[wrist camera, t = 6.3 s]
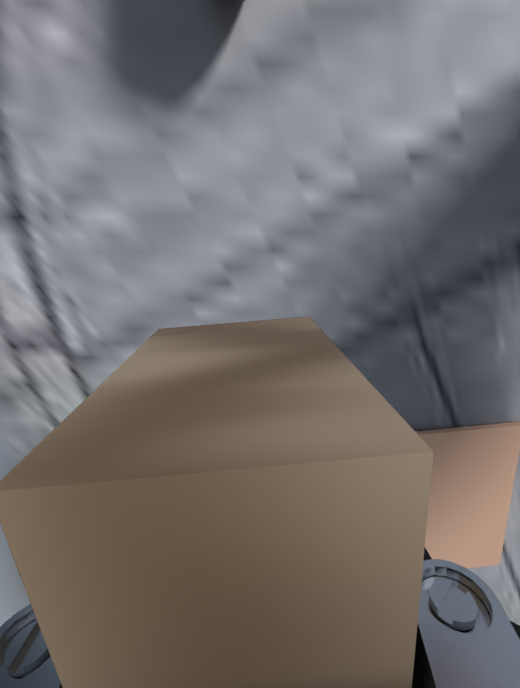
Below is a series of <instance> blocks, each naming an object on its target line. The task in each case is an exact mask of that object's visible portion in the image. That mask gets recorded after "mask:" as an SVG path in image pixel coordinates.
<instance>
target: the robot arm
mask: <svg viewBox="0 0 520 688" xmlns="http://www.w3.org/2000/svg"><path fill="white" fill-rule="evenodd" d="M0 688H63V687H62V685H61V682H60V679H59V677H58V674H57V671H56V669H55V666H54V663H53V661H52V658H51V656H50V653H49V650H48V648H47V645H46V642H45V640H44V637H43V634H42V632H41V629H40V626H39V624H38V621H37V619H36V616H35V613H34V611H33V608H32V605H31V604H30V605H28V606H27V607H25V608H23V609H22V610H20V611H18V612H17V613H16V614H15V615H13V616H12V617H11V618H10V619H9V620H7V621H6V622H5V623H4V624H3V625H2V626H1V627H0ZM412 688H520V626H519V625H517V624H515V623H513V622H511V621H510V620H509V619H508V617H507V615H506V613H505V611H504V609H503V607H502V605H501V603H500V602H499V600H498V599H497V597H496V596H495V594H494V593H493V591H492V590H491V588H490V587H489V586H488V585H487V584H486V583H485V582H484V581H483V580H482V579H480V578H479V577H478V576H477V575H476V574H474V573H473V572H471V571H469V570H468V569H466V568H465V567H463V566H460V565H458V564H456V563H453V562H451V561H446V560H441V559H432V558H431V556H430V555H429V553H428V551H427V550H426V548H425V549H424V560H423V571H422V582H421V592H420V603H419V614H418V625H417V636H416V647H415V658H414V668H413V679H412Z"/></svg>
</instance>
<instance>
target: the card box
mask: <svg viewBox="0 0 520 688" xmlns="http://www.w3.org/2000/svg"><path fill="white" fill-rule="evenodd" d="M432 462H433V450H432V449H431V448H430V447H429V446H428V445H427V444H426V443H425V442H424V441H423V440H422V438H421V437H420V436H419V435H418V434H417V433H416V432H415V431H414V430H413V429H412V428H411V427H410V425H409V424H408V423H407V422H406V421H405V420H404V419H403V418H402V417H401V416H400V415H399V414H398V412H397V411H396V410H395V409H394V408H393V407H392V406H391V405H390V404H389V403H388V402H387V400H386V399H385V398H384V397H383V396H382V395H381V394H380V393H379V392H378V391H377V390H376V389H375V387H374V386H373V385H372V384H371V383H370V382H369V381H368V380H367V379H366V378H365V377H364V376H363V374H362V373H361V372H360V371H359V370H358V369H357V368H356V367H355V366H354V365H353V364H352V362H351V361H350V360H349V359H348V358H347V357H346V356H345V355H344V354H343V353H342V352H341V351H340V349H339V348H338V347H337V346H336V345H335V344H334V343H333V342H332V341H331V340H330V339H329V338H328V336H327V335H326V334H325V333H324V332H323V331H322V330H321V329H320V328H319V327H318V326H317V324H316V323H315V322H314V321H313V320H312V319H311V318H310V317H299V318H286V319H274V320H262V321H250V322H238V323H225V324H213V325H201V326H189V327H177V328H164V329H158V330H157V331H156V332H155V333H154V334H153V335H152V336H151V337H150V338H149V339H148V340H147V341H146V342H145V343H144V344H143V345H142V346H141V347H140V348H139V349H138V350H136V351H135V352H134V353H133V354H132V355H131V356H130V357H129V358H128V359H127V360H126V361H125V362H124V363H123V364H122V365H121V366H120V367H119V368H118V369H117V370H116V371H115V372H114V373H112V374H111V375H110V376H109V377H108V378H107V379H106V380H105V381H104V382H103V383H102V384H101V385H100V386H99V387H98V388H97V389H96V390H95V391H94V392H93V393H92V394H91V395H90V396H89V397H87V398H86V399H85V400H84V401H83V402H82V403H81V404H80V405H79V406H78V407H77V408H76V409H75V410H74V411H73V412H72V413H71V414H70V415H69V416H68V417H67V418H66V419H65V420H63V421H62V422H61V423H60V424H59V425H58V426H57V427H56V428H55V429H54V430H53V431H52V432H51V433H50V434H49V435H48V436H47V437H46V438H45V439H44V440H43V441H42V442H41V443H40V444H38V445H37V446H36V447H35V448H34V449H33V450H32V451H31V452H30V453H29V454H28V455H27V456H26V457H25V458H24V459H23V460H22V461H21V462H20V463H19V464H18V465H17V466H16V467H14V468H13V469H12V470H11V471H10V472H9V473H8V474H7V475H6V476H5V477H4V478H3V479H2V480H1V481H0V523H1V526H2V529H3V531H4V534H5V536H6V539H7V542H8V545H9V547H10V550H11V553H12V555H13V558H14V560H15V563H16V566H17V568H18V571H19V574H20V576H21V579H22V581H23V584H24V587H25V590H26V592H27V595H28V597H29V600H30V603H31V605H32V608H33V611H34V613H35V616H36V619H37V621H38V624H39V626H40V629H41V632H42V634H43V637H44V640H45V642H46V645H47V648H48V650H49V653H50V656H51V658H52V661H53V663H54V666H55V669H56V671H57V674H58V677H59V679H60V682H61V685H62V687H63V688H412V679H413V668H414V658H415V647H416V636H417V625H418V614H419V603H420V592H421V582H422V571H423V560H424V549H425V538H426V527H427V516H428V505H429V495H430V484H431V473H432Z"/></svg>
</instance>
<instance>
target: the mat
mask: <svg viewBox="0 0 520 688" xmlns="http://www.w3.org/2000/svg"><path fill="white" fill-rule="evenodd" d="M415 432H416V433H417V434H418V435H419V436H420V437H421V438H422V440H423V441H424V442H425V443H426V444H427V445H428V446H429V447H430V448H431V449H432V450H433V462H432V473H431V484H430V495H429V505H428V516H427V527H426V538H425V548H426V550H427V551H428V553H429V555H430V556H431V558H432V559H441V560H446V561H451V562H453V563H456V564H458V565H460V566H463V567H465V568H475V567H484V566H493V565H500V560H501V554H502V549H503V543H504V537H505V531H506V525H507V520H508V514H509V508H510V502H511V497H512V491H513V485H514V479H515V474H516V468H517V462H518V456H519V451H520V422H509V423H499V424H488V425H478V426H467V427H457V428H446V429H436V430H425V431H415Z"/></svg>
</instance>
